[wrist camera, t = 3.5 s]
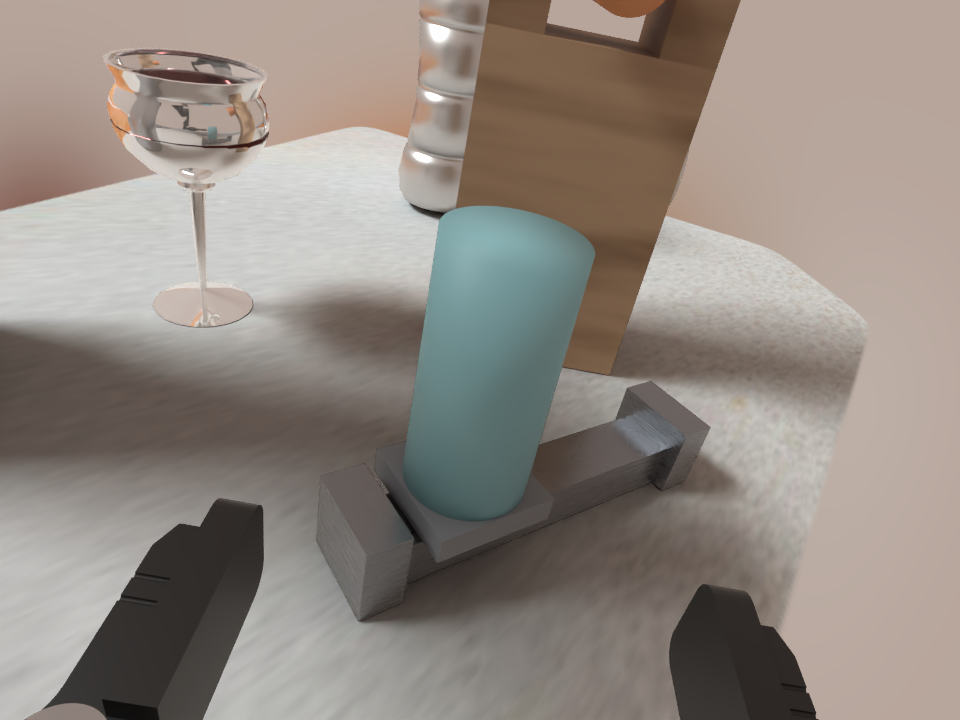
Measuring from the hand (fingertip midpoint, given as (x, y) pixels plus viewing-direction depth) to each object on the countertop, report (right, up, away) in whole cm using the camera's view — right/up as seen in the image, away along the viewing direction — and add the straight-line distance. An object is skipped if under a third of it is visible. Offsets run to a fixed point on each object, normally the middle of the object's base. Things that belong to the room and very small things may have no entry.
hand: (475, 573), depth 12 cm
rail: (+2, -2, +15) cm, 15 cm away
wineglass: (-15, +7, +23) cm, 28 cm away
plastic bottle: (-4, +16, +42) cm, 45 cm away
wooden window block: (+3, +6, +27) cm, 27 cm away
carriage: (-1, -1, +11) cm, 11 cm away
